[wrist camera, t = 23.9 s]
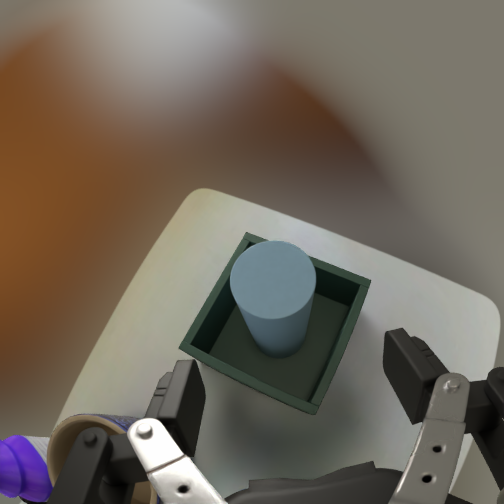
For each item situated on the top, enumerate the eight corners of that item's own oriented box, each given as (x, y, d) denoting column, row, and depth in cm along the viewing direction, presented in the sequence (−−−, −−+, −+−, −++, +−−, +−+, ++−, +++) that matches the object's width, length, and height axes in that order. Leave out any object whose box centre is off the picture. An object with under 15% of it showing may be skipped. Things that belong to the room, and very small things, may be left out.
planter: (205, 510, 23) (166, 549, 13) (113, 498, 23) (52, 516, 14) (196, 417, 28) (152, 418, 18) (107, 413, 29) (42, 404, 19)
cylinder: (293, 302, 32) (294, 228, 20) (313, 346, 30) (330, 297, 18) (246, 320, 32) (218, 257, 20) (265, 366, 29) (247, 332, 17)
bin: (253, 264, 36) (246, 231, 30) (356, 306, 32) (371, 280, 26) (199, 361, 31) (178, 347, 25) (309, 414, 27) (314, 415, 21)
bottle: (53, 456, 26) (-56, 449, 11) (72, 429, 28) (-42, 414, 13) (90, 498, 23) (-19, 518, 8) (111, 473, 25) (-3, 489, 10)
